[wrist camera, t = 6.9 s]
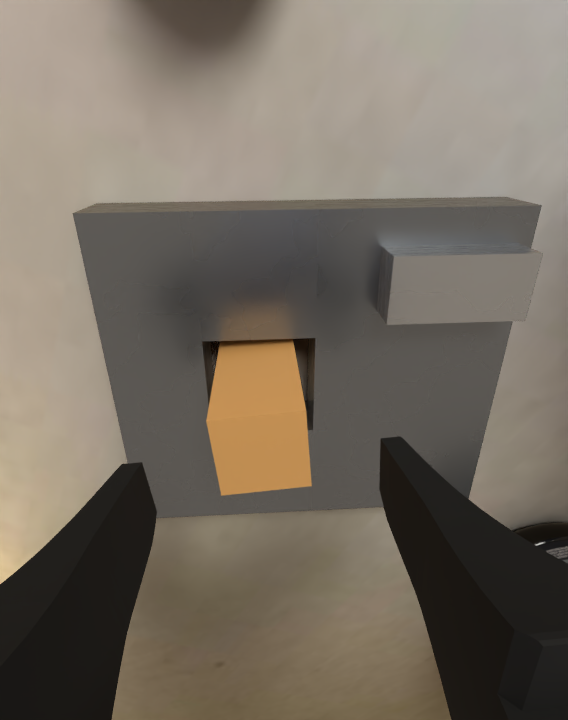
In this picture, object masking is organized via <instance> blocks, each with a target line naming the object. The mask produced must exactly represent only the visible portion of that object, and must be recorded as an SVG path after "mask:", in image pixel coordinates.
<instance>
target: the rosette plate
mask: <svg viewBox="0 0 568 720" xmlns="http://www.w3.org/2000/svg"><path fill="white" fill-rule="evenodd" d="M541 206H542V205H538V204H534V203H529V202H525V201H521V200H517V199H512V198H508V197H480V198H417V199H354V200H291V201H228V202H165V203H102V204H94V205H92V206H89V207H87V208H85V209H82V210H80V211H77V212H75V213H73V216H74V221H75V225H76V230H77V235H78V239H79V244H80V248H81V253H82V257H83V262H84V266H85V271H86V275H87V280H88V284H89V289H90V294H91V298H92V303H93V307H94V312H95V316H96V321H97V325H98V330H99V334H100V339H101V343H102V348H103V353H104V357H105V362H106V366H107V371H108V375H109V380H110V384H111V389H112V393H113V398H114V402H115V407H116V412H117V416H118V421H119V425H120V430H121V434H122V439H123V443H124V448H125V452H126V457H127V461H128V464H129V463H139V462H142V464H143V467H144V470H145V473H146V477H147V480H148V483H149V487H150V490H151V493H152V496H153V500H154V503H155V506H156V510H157V516H156V518H168V517H188V516H208V515H228V514H248V513H268V512H288V511H309V510H329V509H349V508H369V507H384V506H383V502H382V498H381V494H380V490H379V481H380V438H388V437H398V436H401V437H402V438H403V439H404V440H405V441H406V442H407V443H408V444H409V445H410V446H411V447H412V448H413V449H414V450H415V451H416V452H417V453H418V454H419V455H420V456H421V457H422V458H423V459H424V460H425V461H426V462H427V463H428V464H429V465H430V466H431V467H432V468H433V469H434V470H436V471H437V472H438V473H439V474H440V475H441V476H442V477H443V478H444V479H445V480H446V481H448V482H449V483H450V484H451V485H452V486H453V487H454V488H455V489H457V490H458V491H459V492H460V493H461V494H463V495H464V496H465V497H466V498H467V499H468V498H469V494H470V490H471V486H472V482H473V478H474V474H475V470H476V466H477V462H478V458H479V454H480V450H481V446H482V442H483V438H484V434H485V430H486V426H487V422H488V418H489V414H490V410H491V406H492V402H493V398H494V394H495V390H496V386H497V382H498V378H499V374H500V370H501V366H502V362H503V358H504V354H505V350H506V346H507V342H508V338H509V334H510V330H511V326H512V322H513V321H525V320H526V316H527V312H528V309H529V305H530V301H531V297H532V293H533V290H534V286H535V282H536V278H537V274H538V271H539V267H540V263H541V259H542V256H543V253H541V252H539V251H536V250H534V249H531V246H532V242H533V238H534V234H535V230H536V226H537V222H538V218H539V214H540V210H541ZM300 338H308V387H307V400H306V401H304V402H305V407H306V416H307V429H308V443H309V456H310V470H311V483H312V486H307V487H298V488H289V489H279V490H270V491H261V492H251V493H242V494H232V495H223V496H221V491H220V486H219V481H218V476H217V472H216V467H215V462H214V457H213V452H212V447H211V442H210V437H209V432H208V427H207V422H206V420H207V414H208V408H209V402H210V397H211V391H212V385H213V380H214V375H213V365H212V354H211V343H210V341H235V340H267V339H300Z"/></svg>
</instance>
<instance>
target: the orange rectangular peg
mask: <svg viewBox="0 0 568 720" xmlns="http://www.w3.org/2000/svg"><path fill="white" fill-rule="evenodd" d="M206 422H207V427H208V432H209V437H210V442H211V447H212V452H213V457H214V462H215V467H216V472H217V476H218V481H219V486H220V491H221V496H223V495H232V494H242V493H251V492H261V491H270V490H279V489H289V488H298V487H307V486H312V483H311V470H310V456H309V443H308V429H307V416H306V407H305V402H304V397H303V391H302V386H301V380H300V375H299V370H298V364H297V359H296V353H295V348H294V343H293V339H267V340H235V341H220V345H219V351H218V357H217V362H216V368H215V374H214V380H213V385H212V391H211V397H210V402H209V408H208V414H207V420H206Z"/></svg>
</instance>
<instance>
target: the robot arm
mask: <svg viewBox="0 0 568 720" xmlns="http://www.w3.org/2000/svg"><path fill="white" fill-rule="evenodd" d="M379 490H380V494H381V498H382V502H383V506H384V510H385V513H386V517H387V521H388V523H389V526H390V528H391V531H392V534H393V536H394V539H395V541H396V544H397V546H398V549H399V552H400V554H401V557H402V559H403V562H404V564H405V567H406V569H407V572H408V574H409V577H410V579H411V582H412V585H413V587H414V590H415V592H416V595H417V598H418V601H419V604H420V607H421V610H422V614H423V617H424V621H425V624H426V627H427V631H428V634H429V638H430V641H431V645H432V648H433V652H434V656H435V659H436V663H437V667H438V670H439V674H440V677H441V681H442V685H443V689H444V693H445V696H446V700H447V704H448V708H449V712H450V716H451V719H452V720H568V563H566V562H564V561H562V560H560V559H558V558H557V557H555V556H553V555H551V554H549V553H548V552H546V551H544V550H542V549H541V548H539V547H537V546H536V545H534V544H532V543H531V542H529V541H527V540H526V539H524V538H522V537H521V536H519V535H518V534H516V533H514V532H513V531H511V530H510V529H508V528H507V527H505V526H504V525H502V524H501V523H499V522H498V521H497V520H495V519H494V518H492V517H491V516H490V515H488V514H487V513H485V512H484V511H483V510H481V509H480V508H479V507H477V506H476V505H475V504H474V503H472V502H471V501H470V500H469V499H467V498H466V497H465V496H464V495H463V494H461V493H460V492H459V491H458V490H457V489H455V488H454V487H453V486H452V485H451V484H450V483H449V482H448V481H446V480H445V479H444V478H443V477H442V476H441V475H440V474H439V473H438V472H437V471H436V470H434V469H433V468H432V467H431V466H430V465H429V464H428V463H427V462H426V461H425V460H424V459H423V458H422V457H421V456H420V455H419V454H418V453H417V452H416V451H415V450H414V449H413V448H412V447H411V446H410V445H409V444H408V443H407V442H406V441H405V440H404V439H403V438H402V437H401V436H398V437H388V438H380V481H379ZM156 516H157V510H156V506H155V503H154V500H153V496H152V493H151V490H150V487H149V483H148V480H147V477H146V473H145V470H144V467H143V464H142V462H139V463H129V464H122V465H121V466H120V467H119V468H118V469H117V470H116V471H115V472H114V473H113V474H112V476H111V477H110V478H109V479H108V480H107V481H106V482H105V483H104V485H103V486H102V487H101V488H100V489H99V490H98V491H97V492H96V494H95V495H94V496H93V497H92V498H91V499H90V500H89V501H88V502H87V503H86V505H85V506H84V507H83V508H82V509H81V510H80V511H79V512H78V513H77V514H76V515H75V516H74V518H73V519H72V520H71V521H70V522H69V523H68V524H67V525H66V526H65V527H64V528H63V529H62V530H61V531H60V532H59V533H58V534H57V535H56V536H55V537H54V538H53V539H52V540H51V541H50V542H49V543H48V544H46V545H45V546H44V547H43V548H42V549H41V550H40V551H39V552H38V553H37V554H36V555H35V556H33V557H32V558H31V559H30V560H29V561H28V562H27V563H25V564H24V565H23V566H22V567H21V568H20V569H18V570H17V571H16V572H15V573H14V574H13V575H11V576H10V577H9V578H8V579H6V580H5V581H4V582H3V583H1V584H0V720H111V719H112V713H113V707H114V701H115V695H116V689H117V683H118V677H119V672H120V666H121V661H122V656H123V651H124V645H125V640H126V635H127V631H128V627H129V623H130V619H131V616H132V612H133V609H134V606H135V602H136V599H137V595H138V592H139V588H140V585H141V582H142V578H143V575H144V571H145V568H146V564H147V561H148V557H149V554H150V550H151V546H152V542H153V536H154V530H155V523H156Z"/></svg>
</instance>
